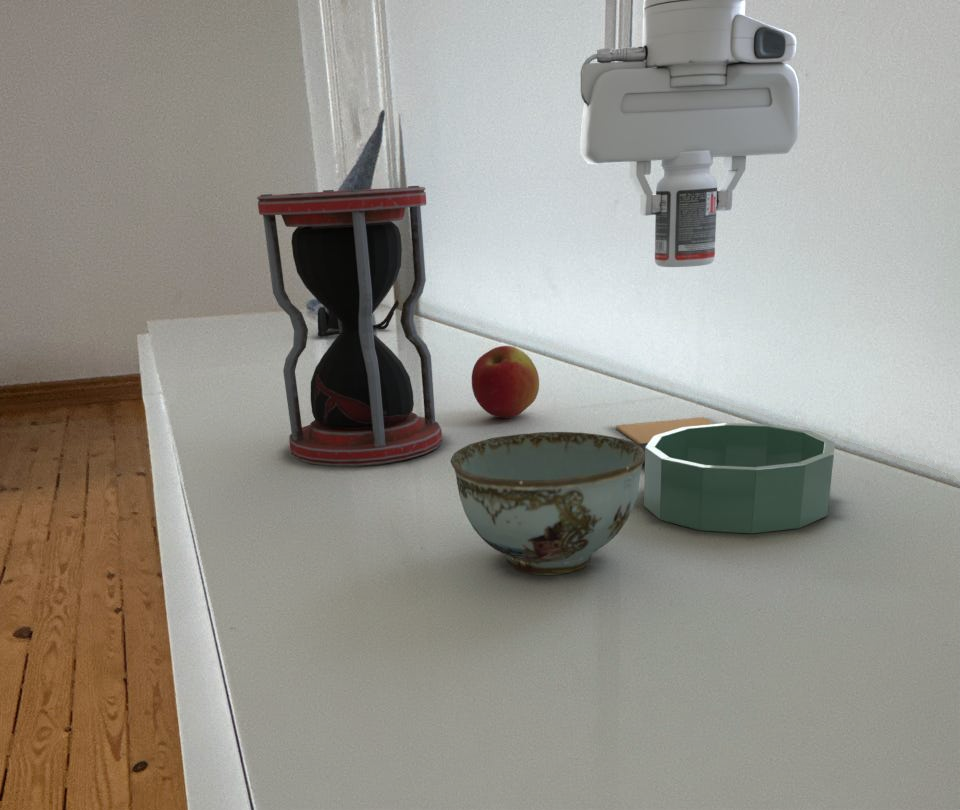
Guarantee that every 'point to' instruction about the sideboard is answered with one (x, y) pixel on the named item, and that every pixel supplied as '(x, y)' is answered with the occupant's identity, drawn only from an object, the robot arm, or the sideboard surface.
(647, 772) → the sideboard surface
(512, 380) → the apple
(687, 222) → the pill bottle
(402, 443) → the hourglass
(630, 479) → the bowl
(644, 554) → the sideboard surface
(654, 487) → the green bowl
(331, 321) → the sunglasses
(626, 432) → the cork coaster
